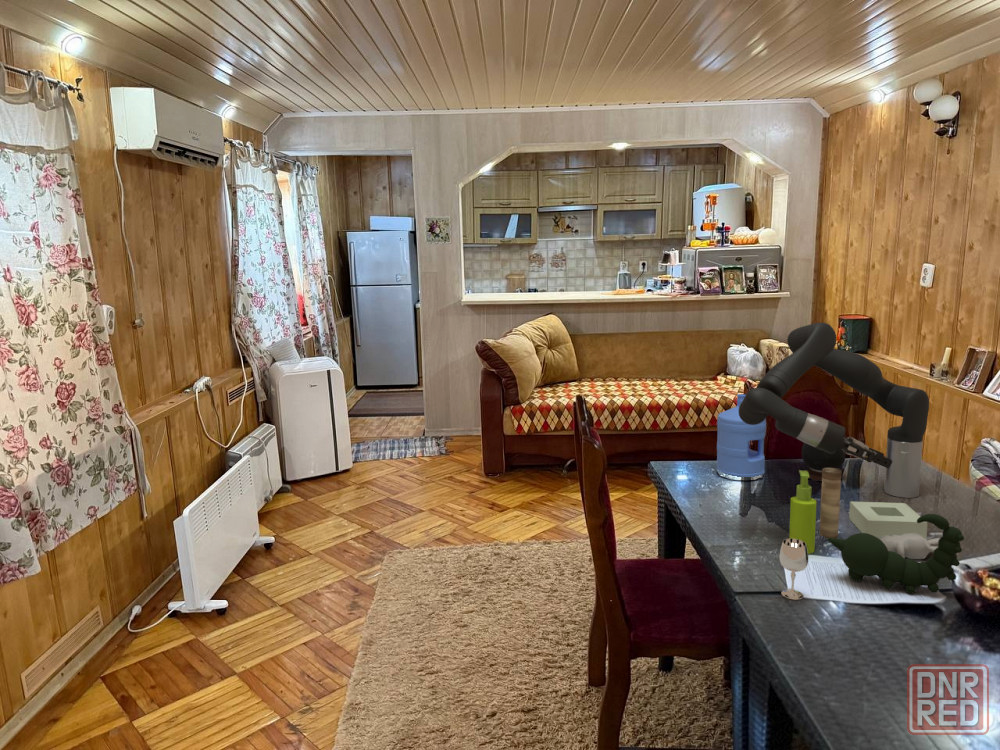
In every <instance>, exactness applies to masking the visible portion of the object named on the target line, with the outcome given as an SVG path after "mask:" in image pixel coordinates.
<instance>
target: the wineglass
mask: <svg viewBox="0 0 1000 750" xmlns="http://www.w3.org/2000/svg"><path fill="white" fill-rule="evenodd" d="M778 558H779V563H780V565H781V567H783V568H784V569H786V570H787V571H789V572H790V579H791V587H790V588H789V589H787V588H786V589H783V590H782V591H781V593H780V594H781V595H782V596H783V597H785V598H787V599H789V600H794V601H795V600H802V599H803V598H804V593H802V592H800V591H798V590H796V589H795V579H796V575H797V574H796V573H799V572H801V571H804V570H805V569H806V568H807V567H808V565H809V554H808V550H807V546H806V543H805V542H803V541H801V540H798V539H789V538H785V539H783V540H782V543H781V546H780V548H779V557H778Z"/></svg>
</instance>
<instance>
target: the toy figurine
mask: <svg viewBox="0 0 1000 750" xmlns="http://www.w3.org/2000/svg"><path fill="white" fill-rule="evenodd" d="M920 516H921V517H919V518H918V519H917V523H921V522H928V523H929V524H933V526H935V527H936V528H937V529H939V530H942V536H941V537H939V538H940V539H939V541H938V546H937V547H938V548H936V549H935V550H934V552H932V556H931V557H929V558H928V559H926V561H920V562H919V561H916V559H910V558H907V559H906V558H903V557H902V556H901V555H900V554H898V553H896V552H892V551H888V549H887V547H886V545H885V544H884V543H883V542H882V541H881V540H880V539H879V538H877V537H875V536H873V535H871V534H867V533H862V532H860V533H853V534H851V535H850V536H847V538H828V539H827V538H826V540H827V542H829V543H830V544H831V545H833V546H834V547H835V548H836V549H837V550H839V552H840V555H841V560H842V561H843V563H844V566H846V568H847V569H848V570H847V571H848V572H847V574H848V578H850V580H851V581H854V582H861V581H863V579H864V577H875V576H877V577H878V578H879V579H880V582H881V586H882V587H884V588H885V589H892V588H894V587H895V584H897V583H898V584H900V585H901V586H903V587H905V588H904V590H905V592H906V593H907V592H908V594H910V593H911V595H912V593H913V594H915V593H916V592H917V588H921V587H922V586H925V587H927V590H928V591H929V592H931V593H938V591H939V590H940V588H939V585H938V583H939V581H940V580H941V579H945V578H946V579H948V580H949V581H955V580H957V575H956V573H955V570H954V567H958V566H960V561H959V559H958V555H957V554H959V553H961V552H963V549H962V547H961V542H963V541H964V540H965V537H964V535H963V533H962V531H961V530H960V529H959V528H958V527H956V526H950V523H949V521H948V519H946V518H945V517H943V516H942V515H939V514H936V513H927V514H922V515H920ZM953 566H954V567H953Z"/></svg>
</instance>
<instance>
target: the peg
mask: <svg viewBox="0 0 1000 750" xmlns="http://www.w3.org/2000/svg"><path fill="white" fill-rule="evenodd" d="M842 471H843V470H841V469H840V468H839V469H836V468H823V469H822V483H821V494H820V498H821V499H820V515H819V518H820V519H819V536H820V535H821V536H823V537H825V538H824V539H827V538H837V539H839V528H840V527H839V523H840V522H839V521H840V509H841V508H840V507H841V506H840V505H841V484H842V480H841V479H842ZM821 536H820V537H821ZM823 537H822V538H823Z"/></svg>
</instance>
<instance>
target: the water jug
mask: <svg viewBox="0 0 1000 750" xmlns="http://www.w3.org/2000/svg"><path fill="white" fill-rule="evenodd" d="M736 396H737V399H736V406H734V407H731V408H729V409H727V410H724V411H722V412H719V413H718V415H717V420H716V421H717V422H716V427H717V438H716V439H717V441H716V456H717V457H716V466H715V467H716V468H717V469H718V470H719V471H721V472H723V473H725V474H728V475H732V476H737V477H755V476H759V475H762V474H764V473H765V474H766V469H765V461H766V460H765V459H766V458H765V457H766V455H765V454H764V452H765V451H764V450H765V449H764V448H765V446H764V445H765V437H766V429H767V421H766V420H767V417H766V418H765V420H764V421H763V422H761V423H759V424H756V425H750V424H747V423H745V422H743V421H742V420H741V418H740V416H739V406H740V404H741V403H742V401H743V399H744V397H745V396H746V394H744V393H742V394H741V393H737V395H736ZM751 441H757V443H758V445H757V450H753V449H751V448H750V442H751Z"/></svg>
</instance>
